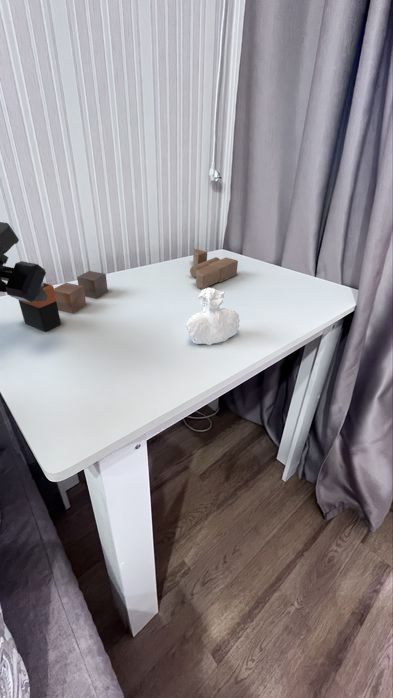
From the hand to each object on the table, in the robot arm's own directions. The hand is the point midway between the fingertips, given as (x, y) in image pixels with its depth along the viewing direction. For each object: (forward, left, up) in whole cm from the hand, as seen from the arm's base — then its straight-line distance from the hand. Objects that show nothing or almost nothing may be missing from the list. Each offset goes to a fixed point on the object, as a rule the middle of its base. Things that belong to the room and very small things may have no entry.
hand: (27, 294), depth 65 cm
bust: (+33, -16, -8) cm, 38 cm away
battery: (+1, +2, -8) cm, 8 cm away
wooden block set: (+46, +18, -8) cm, 50 cm away
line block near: (+8, +8, -8) cm, 14 cm away
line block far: (+14, +14, -8) cm, 22 cm away
